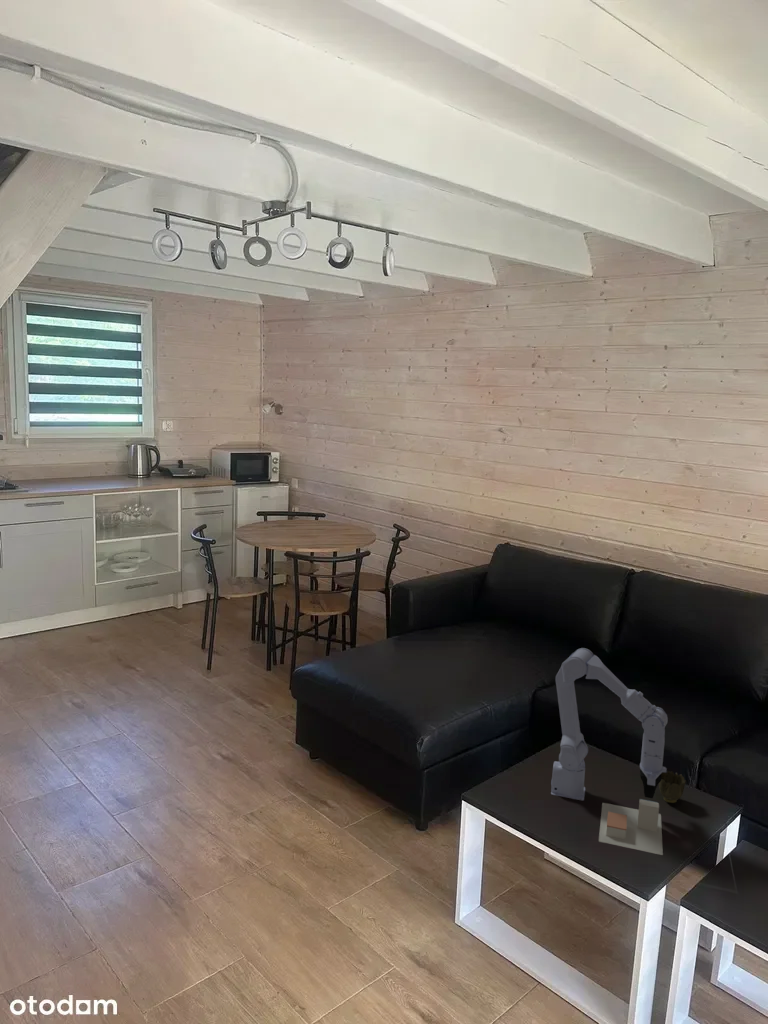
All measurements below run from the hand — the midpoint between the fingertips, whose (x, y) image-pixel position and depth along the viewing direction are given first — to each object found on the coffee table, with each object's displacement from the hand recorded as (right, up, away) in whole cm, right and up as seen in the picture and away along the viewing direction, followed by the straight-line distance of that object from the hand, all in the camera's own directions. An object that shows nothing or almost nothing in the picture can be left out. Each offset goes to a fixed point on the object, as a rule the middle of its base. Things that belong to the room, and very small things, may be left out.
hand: (648, 796), depth 205 cm
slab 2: (-2, -6, -5) cm, 8 cm away
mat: (-7, -7, -6) cm, 11 cm away
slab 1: (-10, -4, -4) cm, 12 cm away
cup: (+9, -5, +9) cm, 14 cm away
